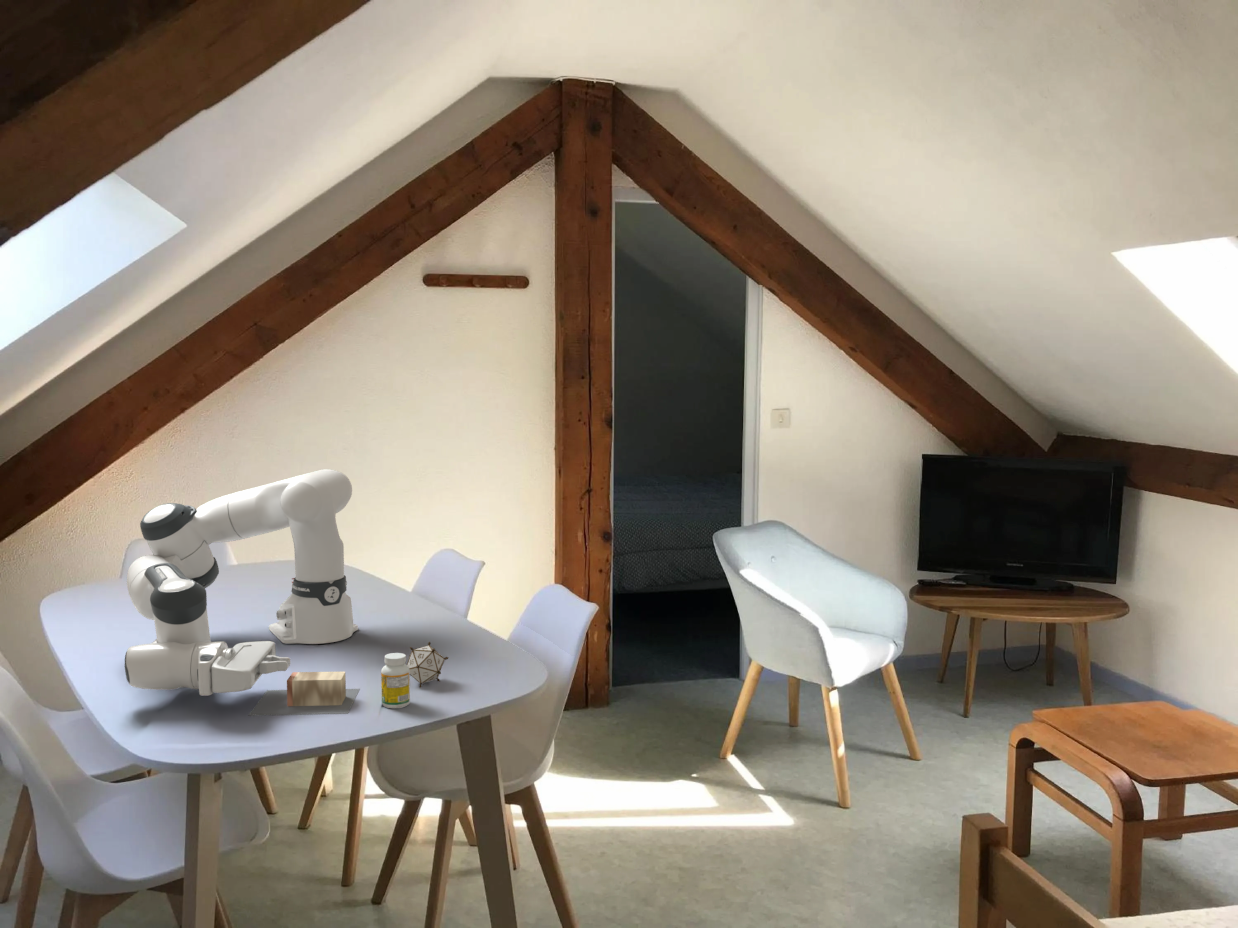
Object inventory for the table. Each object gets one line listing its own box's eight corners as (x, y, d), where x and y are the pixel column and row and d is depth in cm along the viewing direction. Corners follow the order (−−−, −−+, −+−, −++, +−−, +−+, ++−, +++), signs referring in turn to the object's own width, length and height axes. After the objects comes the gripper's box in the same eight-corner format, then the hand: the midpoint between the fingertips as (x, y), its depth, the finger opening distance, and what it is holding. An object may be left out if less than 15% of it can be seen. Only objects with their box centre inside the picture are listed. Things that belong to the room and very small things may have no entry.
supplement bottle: (406, 709, 198) (406, 660, 197) (378, 708, 198) (377, 659, 197) (412, 699, 204) (412, 651, 203) (385, 699, 204) (384, 651, 203)
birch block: (286, 680, 197) (340, 679, 198) (292, 672, 202) (345, 671, 203) (287, 706, 197) (341, 705, 198) (293, 697, 202) (345, 696, 203)
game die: (424, 697, 216) (434, 651, 221) (450, 691, 211) (459, 644, 216) (389, 684, 211) (400, 637, 216) (415, 677, 205) (425, 630, 210)
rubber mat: (248, 718, 193) (248, 715, 192) (267, 693, 206) (267, 690, 206) (347, 716, 194) (347, 713, 194) (359, 691, 208) (359, 688, 208)
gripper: (230, 664, 209) (301, 663, 210) (198, 699, 188) (276, 697, 189) (229, 633, 208) (300, 632, 209) (196, 665, 188) (275, 663, 189)
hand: (288, 663), depth 199 cm, fingers closed
